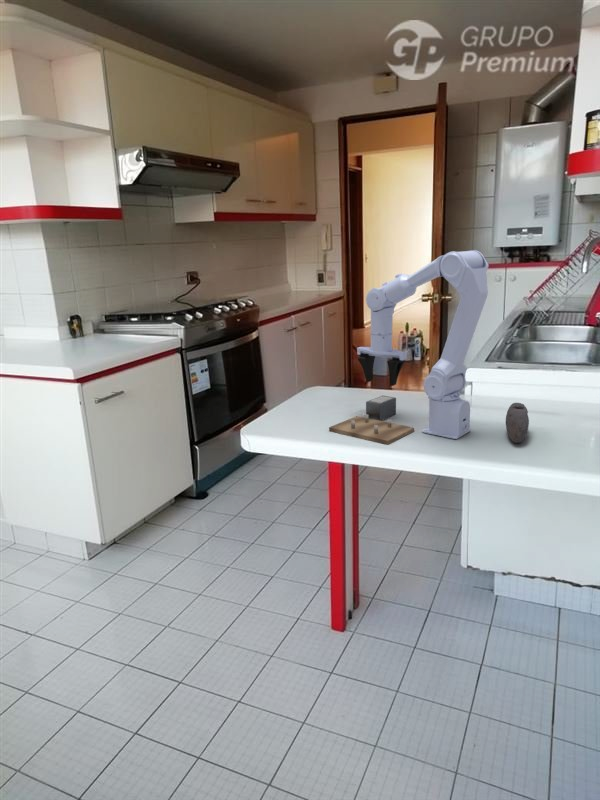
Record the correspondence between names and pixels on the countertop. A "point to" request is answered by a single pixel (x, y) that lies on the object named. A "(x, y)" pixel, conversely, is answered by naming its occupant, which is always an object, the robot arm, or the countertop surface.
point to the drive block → (381, 408)
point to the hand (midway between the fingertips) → (380, 383)
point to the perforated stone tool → (517, 422)
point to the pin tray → (372, 429)
